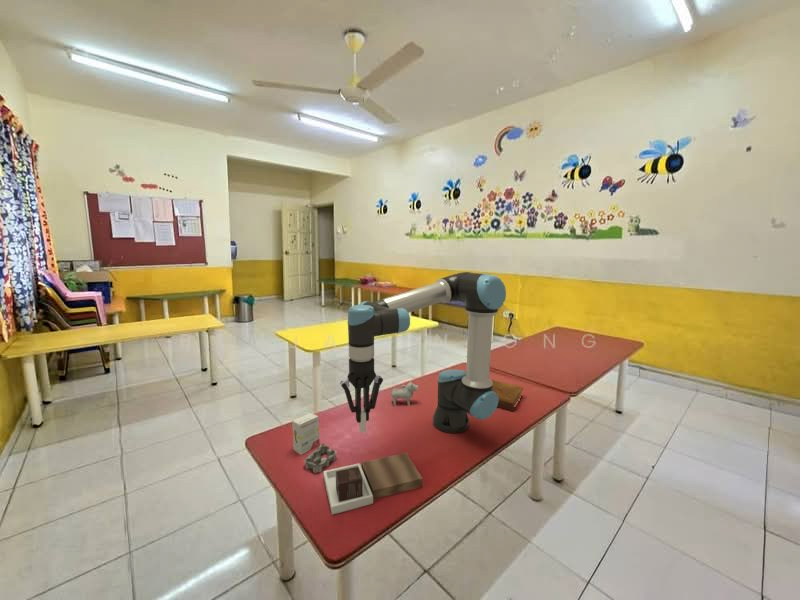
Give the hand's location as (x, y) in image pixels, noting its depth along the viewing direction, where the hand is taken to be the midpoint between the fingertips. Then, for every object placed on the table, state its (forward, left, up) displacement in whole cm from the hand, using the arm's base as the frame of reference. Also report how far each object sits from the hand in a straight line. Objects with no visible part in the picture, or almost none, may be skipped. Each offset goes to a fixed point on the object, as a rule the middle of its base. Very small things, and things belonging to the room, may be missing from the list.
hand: (362, 430), depth 105 cm
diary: (-76, -37, -19) cm, 87 cm away
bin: (+5, +1, -18) cm, 19 cm away
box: (+1, +3, -15) cm, 15 cm away
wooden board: (-9, +1, -18) cm, 21 cm away
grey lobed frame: (+11, -15, -19) cm, 27 cm away
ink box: (+15, -26, -19) cm, 35 cm away
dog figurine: (-32, -47, -19) cm, 60 cm away
